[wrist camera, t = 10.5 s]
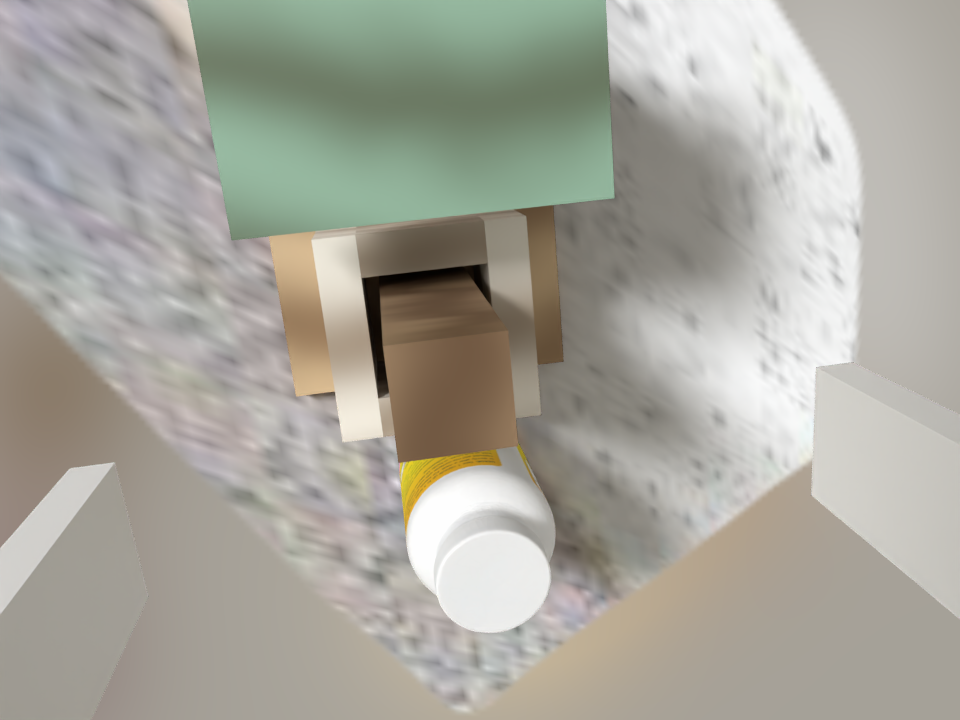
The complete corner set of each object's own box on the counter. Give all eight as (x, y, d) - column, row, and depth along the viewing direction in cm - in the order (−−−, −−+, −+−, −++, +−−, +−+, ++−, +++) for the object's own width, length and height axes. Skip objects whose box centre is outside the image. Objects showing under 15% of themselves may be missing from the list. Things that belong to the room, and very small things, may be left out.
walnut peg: (388, 346, 40) (398, 462, 26) (378, 268, 39) (382, 346, 25) (466, 336, 40) (518, 446, 26) (458, 259, 39) (508, 330, 25)
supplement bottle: (374, 472, 43) (375, 607, 31) (444, 376, 42) (474, 475, 30) (472, 531, 45) (510, 680, 32) (541, 440, 44) (608, 559, 32)
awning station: (233, 8, 36) (158, -62, 23) (533, -17, 37) (617, -94, 25) (299, 399, 41) (268, 515, 29) (559, 365, 43) (639, 461, 30)
